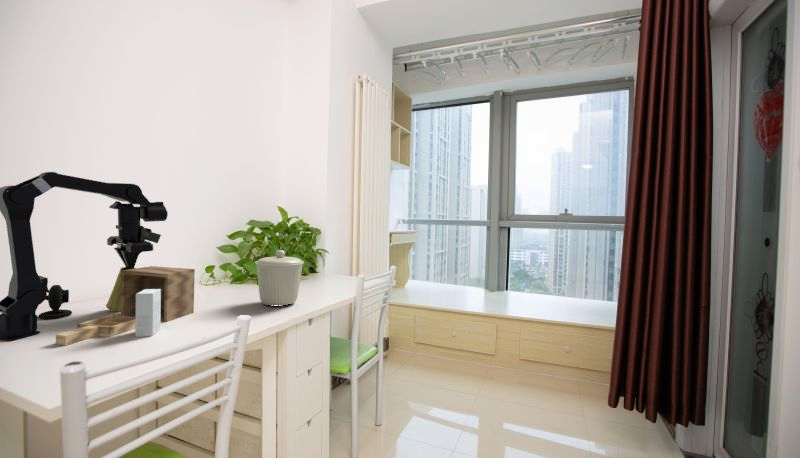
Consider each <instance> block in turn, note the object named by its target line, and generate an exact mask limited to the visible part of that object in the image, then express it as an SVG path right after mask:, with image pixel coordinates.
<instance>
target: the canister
mask: <svg viewBox="0 0 800 458" xmlns="http://www.w3.org/2000/svg"><path fill="white" fill-rule="evenodd" d="M254 263H255V265H256V273H257V283H258V292H259V299H260V301H261V304H262V305H264V304H265V305H264V306H266V305H273V306H274V305H278V306H279V305H288V304H291V305H293V304H295V302H296V301H297V300H298V295H299V290H300V285H301V284H300V283H301V278H302V277H301V276H302V272H303V271H302V270H303V265H304V263H305V262H304V260H302V259H300V258H298V257H295V256H286V252H285V251H284V250H283V249H278V250H276V251H275V256H267V257H266V256H265V257H262V258H259V259H258V260H256V261H255V262H254ZM292 303H293V304H292ZM288 306H289V305H288Z"/></svg>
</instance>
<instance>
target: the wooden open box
mask: <svg viewBox="0 0 800 458" xmlns="http://www.w3.org/2000/svg"><path fill="white" fill-rule="evenodd" d="M134 268H135V269H129V270H122V271H121V311H120V315H124V316H133V315H136V294H137V293H139V292H141V291H143V290H144V289H161V311H163V313H164V314H163V317H164V318H163V321H164V322H165V323H167V322H171V321H173V320H176V319H178V318H179V319H180V318H182V317H186V316H188V315H191V314H194V313H195V308H194V307H195V275H196V273H195V271H196V270H195V269H194V268H181V267H170V266H169V267H168V266H156V265H154V266H152V265H151V266H150V265H149V266H145V267H138V268H137V267H134ZM193 312H194V313H193ZM190 313H191V314H190Z"/></svg>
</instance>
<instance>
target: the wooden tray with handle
mask: <svg viewBox="0 0 800 458" xmlns="http://www.w3.org/2000/svg"><path fill="white" fill-rule="evenodd" d="M135 326H136V316H135V315H134V316H133V315H130V316H124V315H121V314H110V315H106V316H101V317H98V318H94V319H90V320H86V321H83V322H79V323H77V325H76V327H77V328H76V329H72V330H68V331H64V332H60V333H57V334H55V345H56V346H62V347H63V346H64V347H65V346H70V345H72V344H76V343H79V342H82V341H85V340H88V339H92V338H95V337H98V336H99V337H106V338H107V337H109V338H111V337H115V336H119V335H121V334H123V333H124V334H125V333H127V332H131V331H133V330H135Z"/></svg>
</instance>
